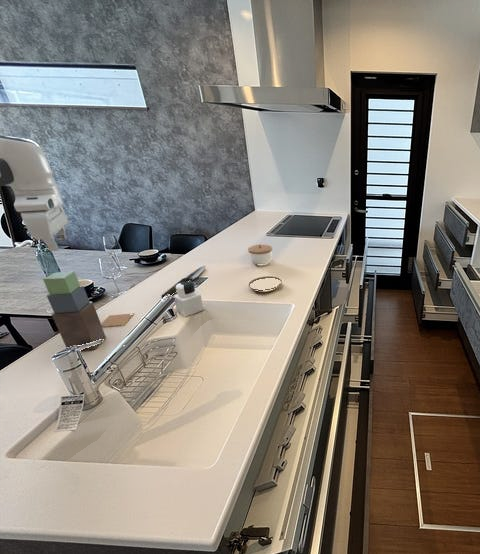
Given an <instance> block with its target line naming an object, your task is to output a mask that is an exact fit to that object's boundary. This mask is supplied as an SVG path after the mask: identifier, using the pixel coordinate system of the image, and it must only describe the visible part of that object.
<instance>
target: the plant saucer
mask: <svg viewBox="0 0 480 554" xmlns="http://www.w3.org/2000/svg"><path fill="white" fill-rule="evenodd" d="M265 278H275V279H278V280H280V281H281V284H280V285H278V286H279V287H280V286H281V285H282V283H283V281H282V278H280V277H277V276H270V275H269V276H260V277H257V278H254V279H252V280H250V281H249V282H248V287H249V288H250V289H251V290H253V291H254V290H258V289H253V288H251V287H250V284H251V283H253V282H254V281H256V280H259V279H265ZM278 286H277V287H278ZM279 287H278V288H279ZM274 288H276V287H274ZM274 288H271V289H274ZM265 290H270V289H265ZM258 291H263V290H258Z"/></svg>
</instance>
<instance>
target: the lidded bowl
mask: <svg viewBox="0 0 480 554" xmlns="http://www.w3.org/2000/svg"><path fill="white" fill-rule="evenodd" d="M247 252H248V257H249V259H250V261H251V262H252V263H253V264H254V265H255V264H266V263H270V262H271V261H272V258H273V247H272V246H271V245H269V244H256V245H255V244H254V245H251V246H249V247H248V248H247Z"/></svg>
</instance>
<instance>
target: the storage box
mask: <svg viewBox="0 0 480 554" xmlns="http://www.w3.org/2000/svg"><path fill="white" fill-rule="evenodd" d="M95 307H96V306H95V305H94V302H93V301H89V303H88V304H87V305H86V306H85V307H83V308H82V309H81V310H80V311H79V312H67V313H54V312H53V313H52V314H51V317H52V319H53V321H54V324H55V326H56V328H57V330H58V332H59V335H60V337H61V339H62V341H63V343H64V345H65V347H66V349H67V347H70V346H73V345H82V344H86V343H90V342H93V341H96V340H99V339H104V338H105V339H106V338H107V336H106V333H105V331H104V327H102V325H101V323H102V322H101V321H100V317H99V315H98V313H97V309H96V308H95ZM105 339H104V340H105ZM100 345H101V344H97V345H95V346H91V347H89V348H85V349H83V350H81V351H80V352H88V351H96V349H98V348H99V346H100Z"/></svg>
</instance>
